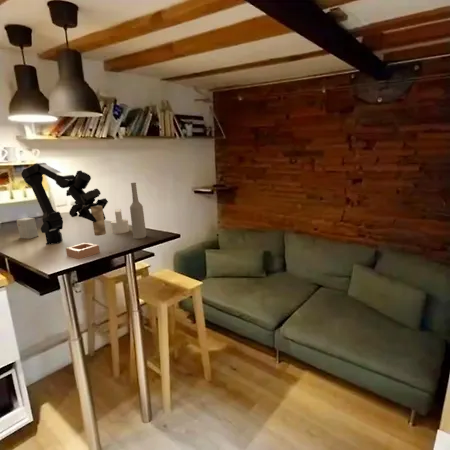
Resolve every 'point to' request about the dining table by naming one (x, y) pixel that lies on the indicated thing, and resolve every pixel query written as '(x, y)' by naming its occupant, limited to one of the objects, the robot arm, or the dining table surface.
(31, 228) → the small box
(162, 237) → the dining table surface
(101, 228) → the peg
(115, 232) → the base with upright slab
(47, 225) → the robot arm
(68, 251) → the socket
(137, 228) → the bottle
